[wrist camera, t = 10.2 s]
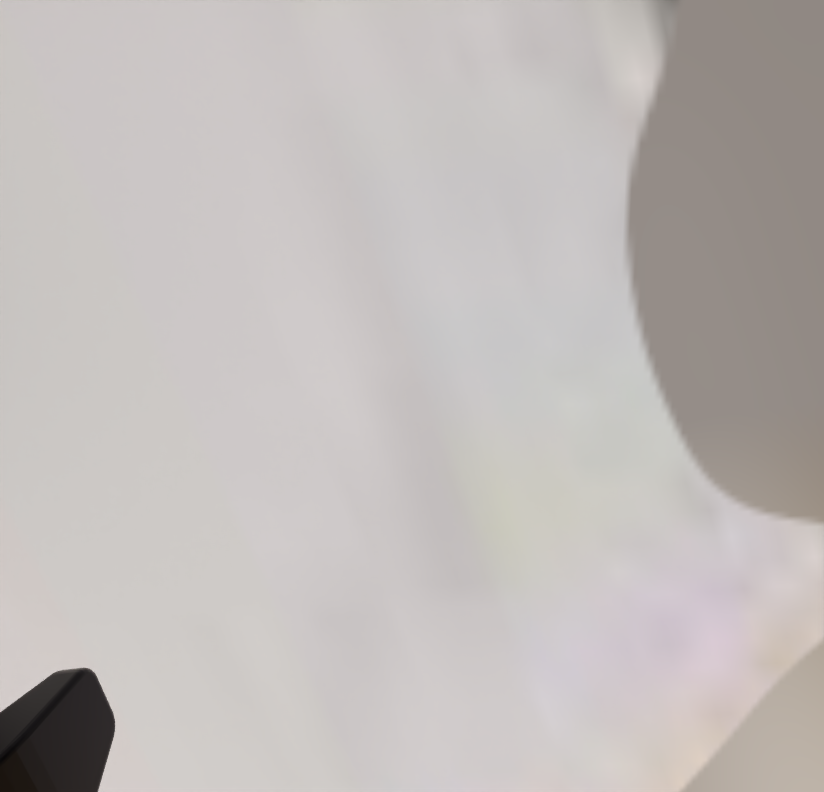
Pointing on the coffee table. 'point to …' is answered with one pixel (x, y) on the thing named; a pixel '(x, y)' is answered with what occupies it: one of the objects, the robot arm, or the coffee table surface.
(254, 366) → the coffee table surface
